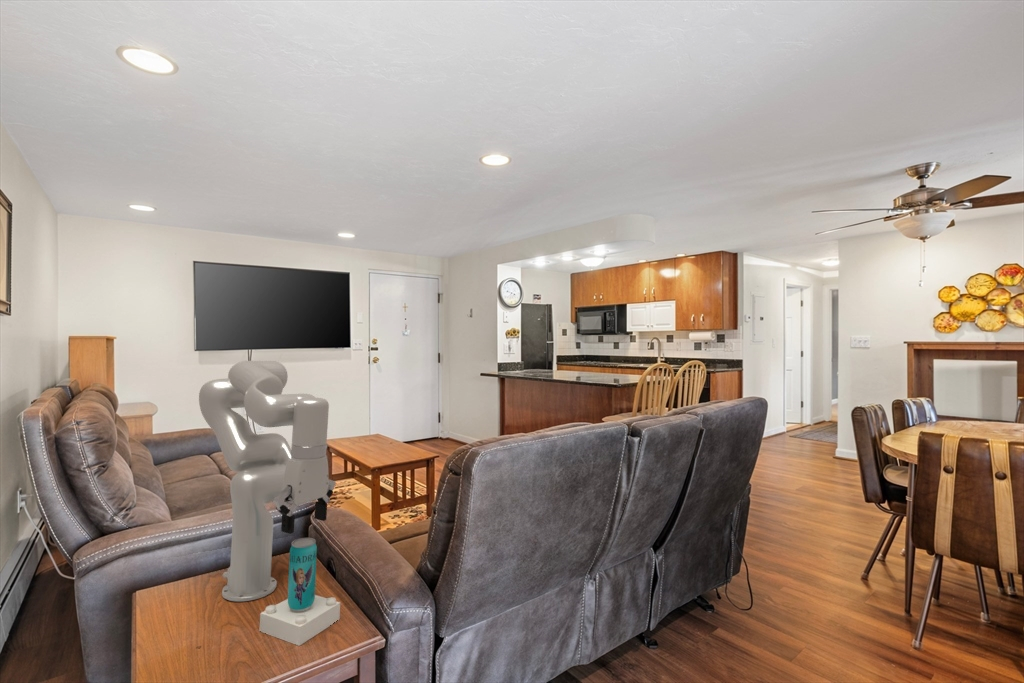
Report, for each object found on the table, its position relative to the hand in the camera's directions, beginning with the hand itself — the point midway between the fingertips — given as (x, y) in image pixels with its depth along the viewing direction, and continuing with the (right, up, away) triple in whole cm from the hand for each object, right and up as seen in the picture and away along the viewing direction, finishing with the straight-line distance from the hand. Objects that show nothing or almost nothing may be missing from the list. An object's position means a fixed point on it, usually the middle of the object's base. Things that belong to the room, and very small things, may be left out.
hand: (304, 525), depth 117 cm
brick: (-1, -23, -1) cm, 23 cm away
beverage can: (-1, -19, -1) cm, 19 cm away
